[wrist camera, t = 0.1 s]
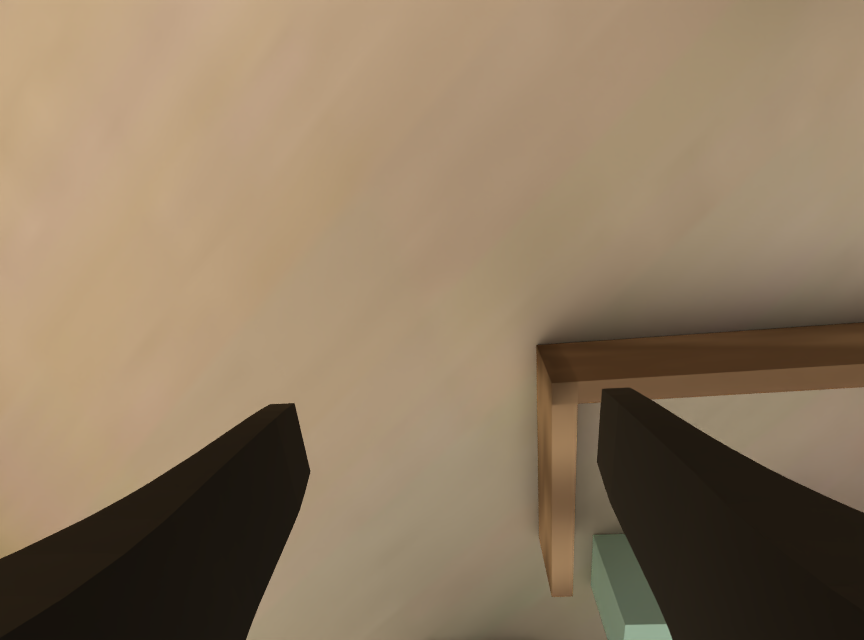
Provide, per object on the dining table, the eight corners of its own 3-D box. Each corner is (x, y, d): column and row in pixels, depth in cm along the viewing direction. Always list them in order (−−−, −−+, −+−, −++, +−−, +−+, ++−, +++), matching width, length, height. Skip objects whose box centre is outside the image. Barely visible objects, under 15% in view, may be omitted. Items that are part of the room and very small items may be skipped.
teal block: (660, 582, 26) (705, 679, 21) (590, 584, 26) (620, 680, 21) (666, 531, 24) (717, 623, 20) (593, 534, 25) (625, 624, 20)
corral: (902, 524, 23) (975, 587, 20) (539, 537, 25) (551, 596, 21) (984, 313, 19) (1095, 349, 16) (536, 345, 20) (551, 383, 17)
